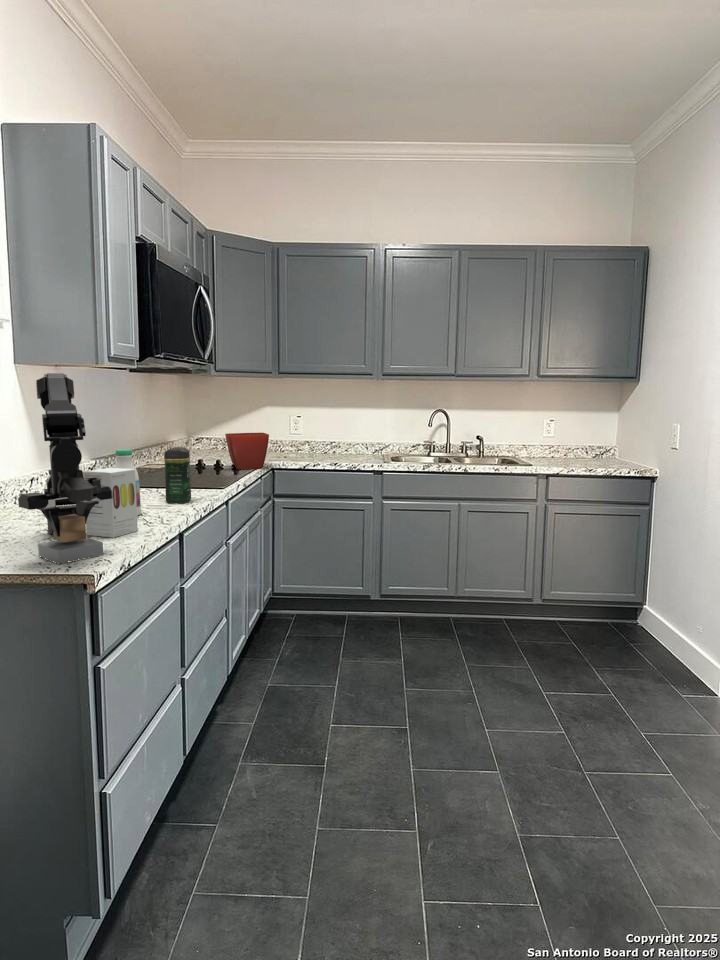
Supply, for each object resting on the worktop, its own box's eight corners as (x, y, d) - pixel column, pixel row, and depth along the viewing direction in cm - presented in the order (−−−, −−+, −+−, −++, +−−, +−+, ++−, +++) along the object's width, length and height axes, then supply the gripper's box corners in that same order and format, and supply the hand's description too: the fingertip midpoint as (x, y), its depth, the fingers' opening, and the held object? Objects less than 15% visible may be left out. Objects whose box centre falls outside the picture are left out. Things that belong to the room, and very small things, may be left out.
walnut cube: (75, 535, 145) (74, 513, 144) (86, 538, 141) (84, 516, 141) (53, 539, 141) (52, 517, 140) (64, 542, 138) (62, 520, 137)
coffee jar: (187, 504, 208) (185, 448, 205) (163, 504, 207) (160, 448, 205) (194, 499, 217) (191, 445, 215) (171, 499, 217) (168, 446, 214)
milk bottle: (110, 515, 189) (106, 449, 186) (135, 512, 194) (132, 447, 191) (119, 519, 183) (115, 451, 180) (145, 515, 188) (141, 449, 185)
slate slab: (82, 548, 149) (81, 535, 148) (103, 555, 142) (102, 542, 142) (38, 556, 141) (37, 543, 141) (59, 564, 135) (58, 550, 134)
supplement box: (113, 538, 159) (109, 472, 156) (85, 535, 162) (80, 471, 160) (139, 530, 167) (135, 468, 165) (112, 528, 171) (108, 466, 169)
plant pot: (226, 466, 314) (225, 433, 311) (264, 465, 319) (263, 432, 317) (230, 471, 296) (228, 435, 293) (270, 469, 301) (269, 434, 299)
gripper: (37, 472, 127) (42, 547, 129) (123, 464, 141) (126, 532, 143) (14, 468, 134) (20, 539, 136) (98, 461, 148) (102, 525, 150)
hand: (69, 534), depth 141 cm, fingers closed on walnut cube, 5 cm apart
